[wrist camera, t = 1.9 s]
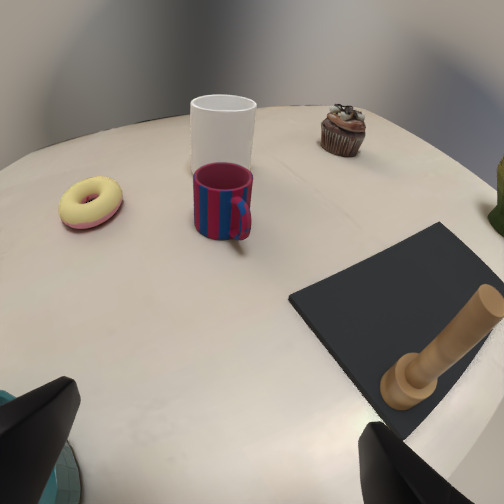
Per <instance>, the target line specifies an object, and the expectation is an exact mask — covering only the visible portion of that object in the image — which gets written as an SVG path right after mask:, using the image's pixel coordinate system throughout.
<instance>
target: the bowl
mask: <svg viewBox="0 0 504 504" xmlns="http://www.w3.org/2000/svg"><path fill="white" fill-rule="evenodd" d="M15 398H16V397H15V396H13V395H11V394H9V393H8V392H6V391H4V390H0V405H2V404H5V403H7V402H9V401H11V400H13V399H15ZM80 495H81V488H80V479H79V471H78V467H77V465H76V462H75V459H74V456H73V453H72V451H71V448H70V446H69V445H68V443H67V442H66V443H65V445H64V447H63V449H62V452H61V454H60V456H59V458H58V460H57V462H56V464H55V467H54V469H53V471H52V473H51V475H50V478H49V480H48V482H47V484H46V487H45V489H44V491H43V494H42V496H41V499H40V501H39V503H38V504H79V500H80Z"/></svg>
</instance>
